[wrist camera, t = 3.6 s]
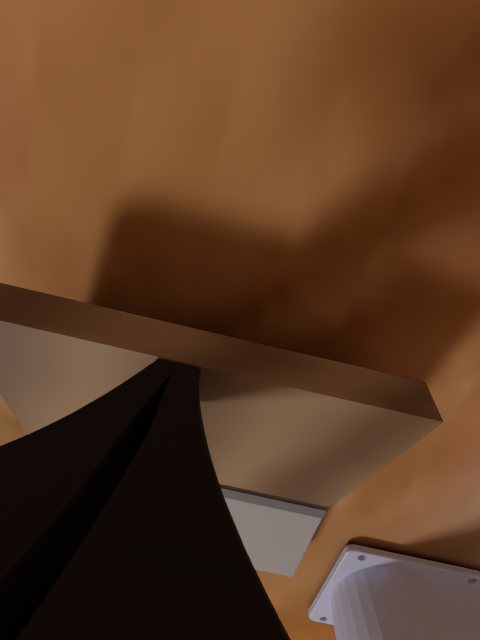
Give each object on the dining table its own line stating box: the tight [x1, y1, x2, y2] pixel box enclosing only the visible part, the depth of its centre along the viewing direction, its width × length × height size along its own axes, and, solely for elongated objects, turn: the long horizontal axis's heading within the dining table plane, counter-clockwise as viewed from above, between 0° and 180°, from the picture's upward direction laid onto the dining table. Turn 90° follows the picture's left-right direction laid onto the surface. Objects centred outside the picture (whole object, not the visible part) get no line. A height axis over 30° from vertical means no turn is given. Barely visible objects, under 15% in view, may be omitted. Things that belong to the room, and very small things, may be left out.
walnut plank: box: [0, 283, 443, 507], centre depth 12 cm, size 15×9×2 cm, turn 77°
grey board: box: [220, 484, 327, 577], centre depth 16 cm, size 15×6×2 cm, turn 77°
